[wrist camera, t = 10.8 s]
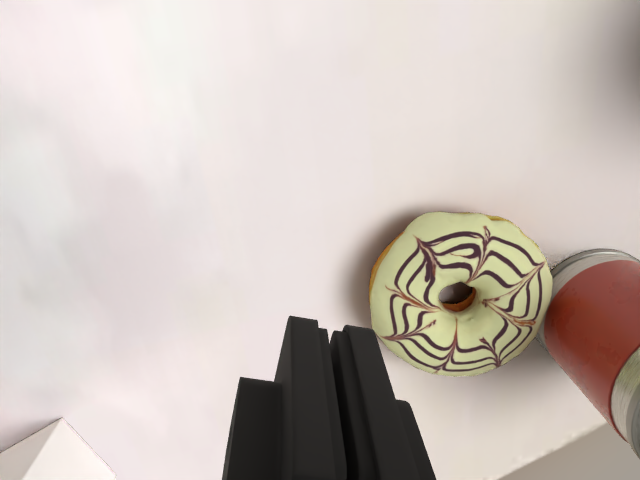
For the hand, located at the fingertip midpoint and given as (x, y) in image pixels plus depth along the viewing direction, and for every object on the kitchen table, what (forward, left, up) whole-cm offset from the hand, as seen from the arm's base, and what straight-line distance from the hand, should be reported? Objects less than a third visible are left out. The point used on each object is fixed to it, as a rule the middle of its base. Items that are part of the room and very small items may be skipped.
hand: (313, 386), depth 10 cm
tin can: (+21, -6, -22) cm, 30 cm away
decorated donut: (+11, -6, -22) cm, 25 cm away
